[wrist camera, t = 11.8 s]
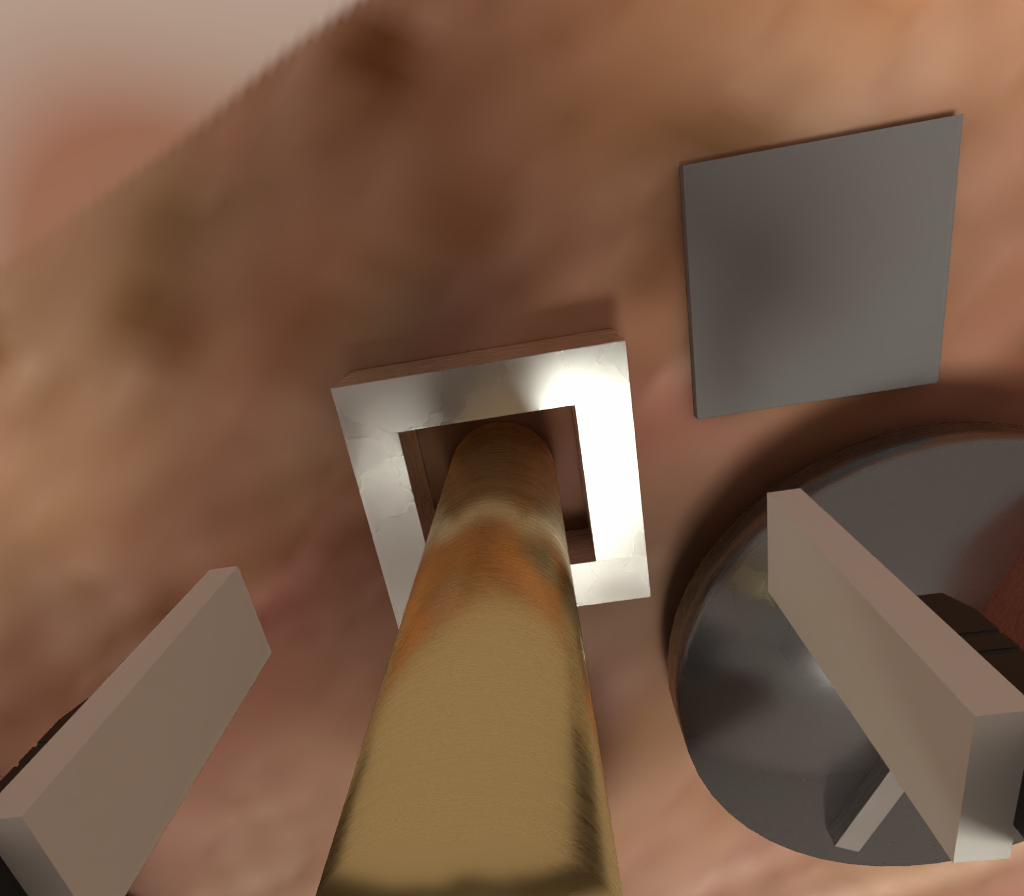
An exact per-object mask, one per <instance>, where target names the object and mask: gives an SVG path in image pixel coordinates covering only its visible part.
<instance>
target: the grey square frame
mask: <svg viewBox="0 0 1024 896" xmlns="http://www.w3.org/2000/svg"><path fill="white" fill-rule="evenodd" d="M330 390H331V393H332V397H333V400H334V404H335V407H336V411H337V414H338V418H339V421H340V425H341V428H342V432H343V435H344V439H345V442H346V446H347V449H348V453H349V456H350V460H351V463H352V467H353V471H354V474H355V478H356V481H357V485H358V488H359V492H360V495H361V499H362V502H363V506H364V509H365V513H366V516H367V520H368V523H369V527H370V530H371V534H372V537H373V541H374V544H375V548H376V551H377V555H378V558H379V562H380V565H381V569H382V572H383V576H384V579H385V583H386V586H387V590H388V593H389V597H390V601H391V604H392V608H393V611H394V615H395V618H396V622H397V625H398V629H399V627H400V624H401V621H402V618H403V615H404V611H405V608H406V605H407V602H408V599H409V595H410V592H411V589H412V586H413V583H414V579H415V576H416V573H417V570H418V567H419V563H420V560H421V557H422V554H423V551H424V547H425V544H426V541H427V538H428V535H429V531H430V528H431V525H432V522H433V519H434V515H435V509H434V505H433V500H432V496H431V492H430V488H429V484H428V479H427V475H426V471H425V467H424V463H423V458H422V454H421V450H420V446H419V442H418V437H417V433H416V429H422V428H429V427H435V426H441V425H448V424H454V423H460V422H467V421H473V420H480V419H486V418H492V417H499V416H505V415H511V414H518V413H524V412H531V411H537V410H543V409H550V408H556V407H563V406H569V405H572V412H573V419H574V427H575V434H576V441H577V449H578V456H579V463H580V471H581V478H582V485H583V493H584V500H585V508H586V515H587V522H588V528H582V529H575V530H568V531H565V534H566V540H567V546H568V552H569V559H570V565H571V571H572V578H573V584H574V590H575V597H576V603H577V606H583V605H591V604H599V603H606V602H614V601H621V600H629V599H636V598H644V597H651V596H650V586H649V576H648V566H647V556H646V546H645V536H644V525H643V515H642V505H641V495H640V485H639V475H638V465H637V454H636V444H635V434H634V424H633V414H632V404H631V393H630V383H629V373H628V363H627V353H626V343H625V340H624V339H623V338H622V337H621V336H620V335H619V334H618V333H617V332H616V331H615V330H614V329H613V328H611V329H605V330H599V331H593V332H587V333H581V334H575V335H569V336H563V337H557V338H551V339H545V340H539V341H533V342H527V343H521V344H514V345H508V346H502V347H496V348H490V349H484V350H478V351H472V352H466V353H460V354H454V355H448V356H442V357H436V358H430V359H424V360H418V361H412V362H406V363H400V364H393V365H387V366H381V367H375V368H369V369H363V370H357V371H352V372H351V373H349V374H348V375H347V376H346V377H344V378H343V379H342V380H341V381H339V382H338V383H337V384H336V385H334V386H333V387H332V388H331V389H330Z"/></svg>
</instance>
